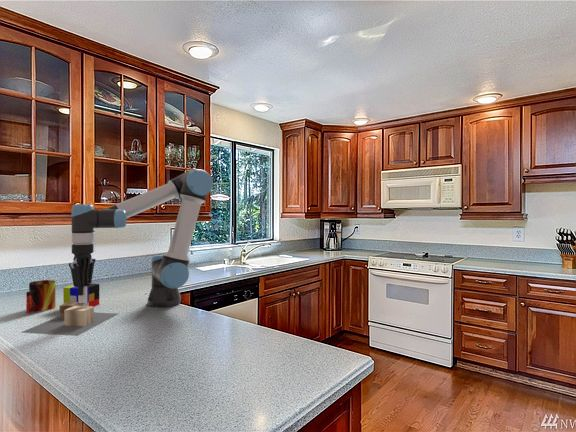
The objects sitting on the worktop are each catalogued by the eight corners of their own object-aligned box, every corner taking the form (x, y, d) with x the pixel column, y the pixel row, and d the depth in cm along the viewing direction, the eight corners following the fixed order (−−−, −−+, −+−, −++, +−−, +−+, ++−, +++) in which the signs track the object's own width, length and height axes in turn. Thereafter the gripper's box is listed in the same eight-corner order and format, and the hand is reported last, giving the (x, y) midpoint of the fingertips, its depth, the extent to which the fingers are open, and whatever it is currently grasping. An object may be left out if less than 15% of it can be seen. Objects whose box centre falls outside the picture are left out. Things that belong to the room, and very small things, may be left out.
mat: (119, 314, 154) (119, 313, 154) (77, 336, 129) (77, 335, 129) (71, 311, 157) (71, 311, 157) (20, 333, 131) (20, 332, 131)
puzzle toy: (83, 311, 158) (83, 288, 157) (63, 309, 160) (63, 287, 159) (99, 305, 168) (99, 284, 167) (80, 303, 170) (80, 282, 169)
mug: (26, 316, 150) (26, 287, 150) (30, 307, 162) (30, 281, 162) (53, 313, 155) (53, 285, 154) (56, 305, 167) (56, 279, 166)
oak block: (93, 306, 144) (83, 310, 138) (93, 321, 144) (83, 326, 138) (75, 305, 145) (64, 309, 139) (75, 320, 145) (64, 325, 139)
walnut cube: (77, 313, 153) (77, 302, 153) (72, 317, 148) (72, 305, 148) (65, 314, 152) (65, 302, 152) (59, 317, 147) (59, 305, 147)
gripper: (84, 241, 149) (84, 298, 150) (61, 245, 136) (62, 307, 137) (101, 242, 148) (101, 298, 149) (80, 245, 135) (80, 307, 136)
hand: (82, 302), depth 143 cm, fingers closed
